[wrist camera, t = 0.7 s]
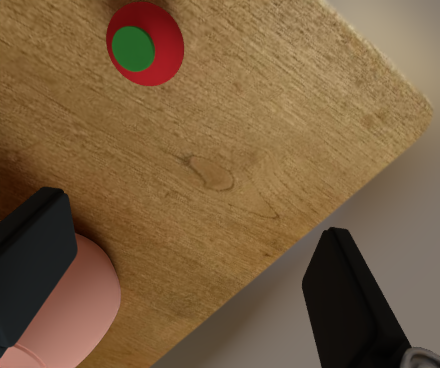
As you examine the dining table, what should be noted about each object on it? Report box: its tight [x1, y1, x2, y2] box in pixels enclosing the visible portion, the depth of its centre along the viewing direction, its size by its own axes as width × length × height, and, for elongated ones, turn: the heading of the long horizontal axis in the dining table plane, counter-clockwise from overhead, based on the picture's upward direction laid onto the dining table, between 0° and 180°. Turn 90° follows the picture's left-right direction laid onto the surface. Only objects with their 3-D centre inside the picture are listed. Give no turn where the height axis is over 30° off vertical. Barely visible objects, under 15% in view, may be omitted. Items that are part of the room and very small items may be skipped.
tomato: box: [106, 2, 184, 86], centre depth 18 cm, size 5×5×5 cm
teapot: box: [0, 233, 121, 368], centre depth 27 cm, size 25×17×13 cm
